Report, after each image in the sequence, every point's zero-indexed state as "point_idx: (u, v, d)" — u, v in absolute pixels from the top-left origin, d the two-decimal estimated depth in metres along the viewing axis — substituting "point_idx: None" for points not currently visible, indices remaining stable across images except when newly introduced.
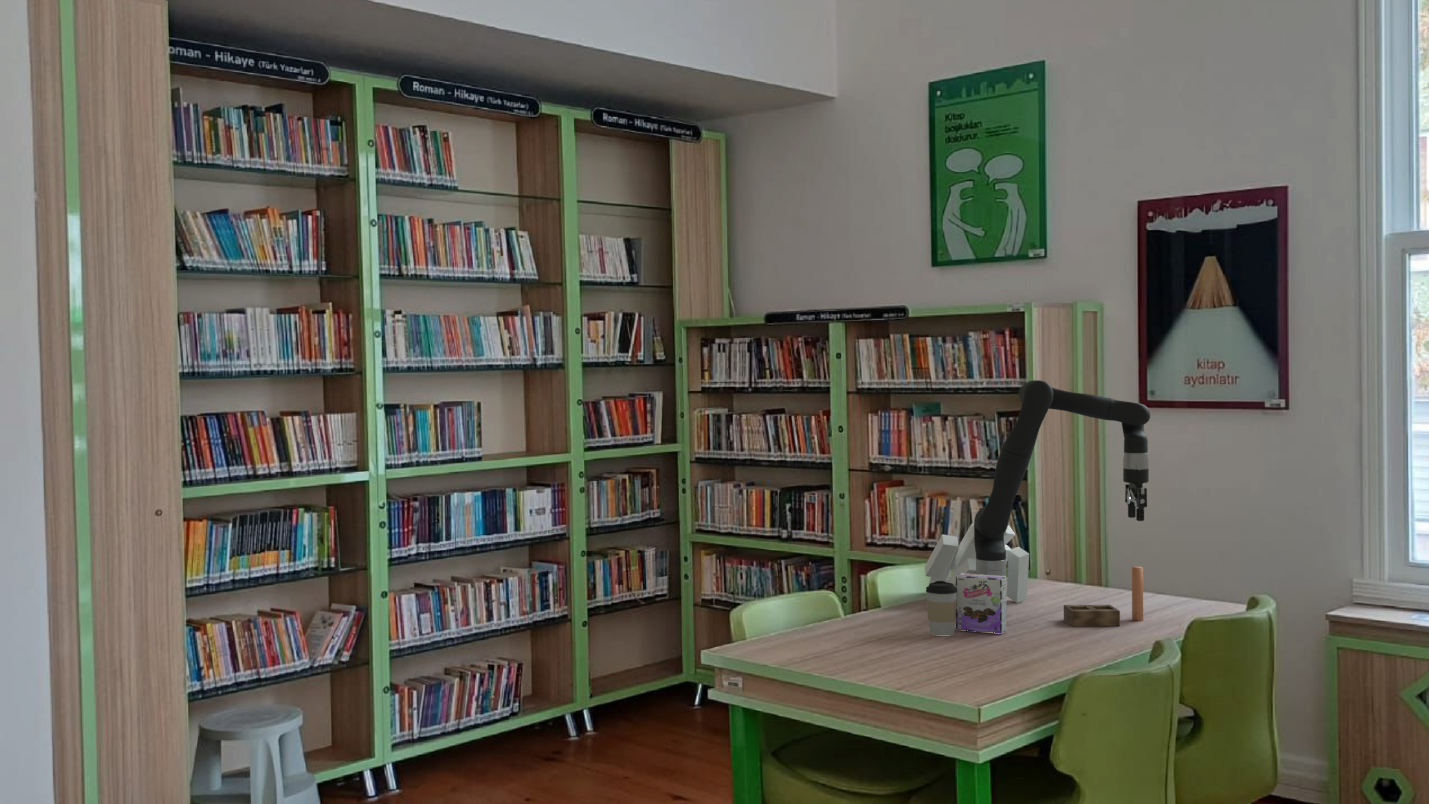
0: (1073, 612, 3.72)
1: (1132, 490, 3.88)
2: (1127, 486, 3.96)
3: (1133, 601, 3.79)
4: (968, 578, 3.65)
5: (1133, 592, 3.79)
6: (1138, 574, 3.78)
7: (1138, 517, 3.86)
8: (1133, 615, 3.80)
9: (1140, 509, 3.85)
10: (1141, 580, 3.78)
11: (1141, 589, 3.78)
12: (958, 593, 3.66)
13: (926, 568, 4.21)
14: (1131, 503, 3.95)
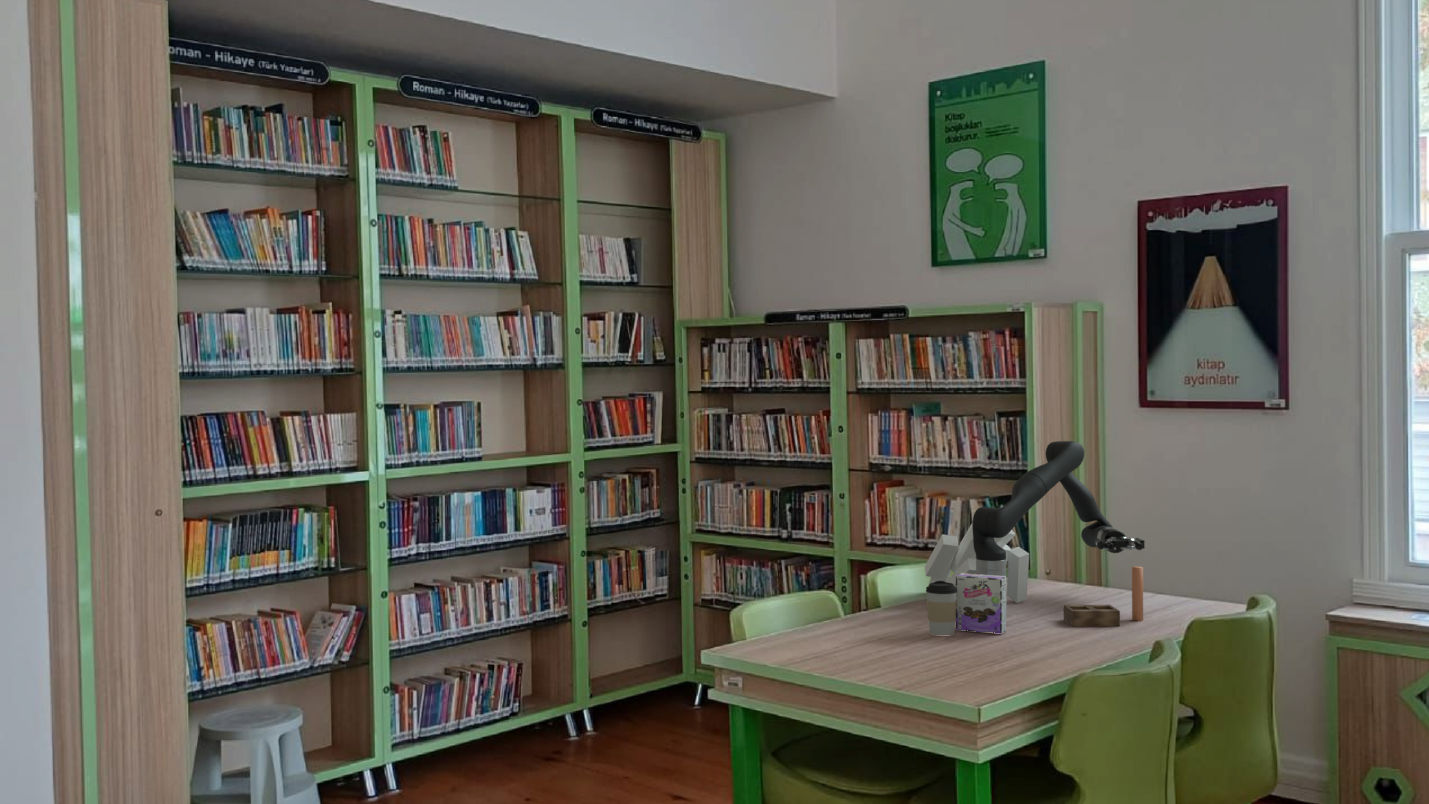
0: (1073, 612, 3.72)
1: None
2: None
3: (1133, 601, 3.79)
4: (968, 578, 3.65)
5: (1133, 592, 3.79)
6: (1138, 574, 3.78)
7: (1141, 544, 3.92)
8: (1133, 615, 3.80)
9: None
10: (1141, 580, 3.78)
11: (1141, 589, 3.78)
12: (958, 593, 3.66)
13: (926, 568, 4.21)
14: None
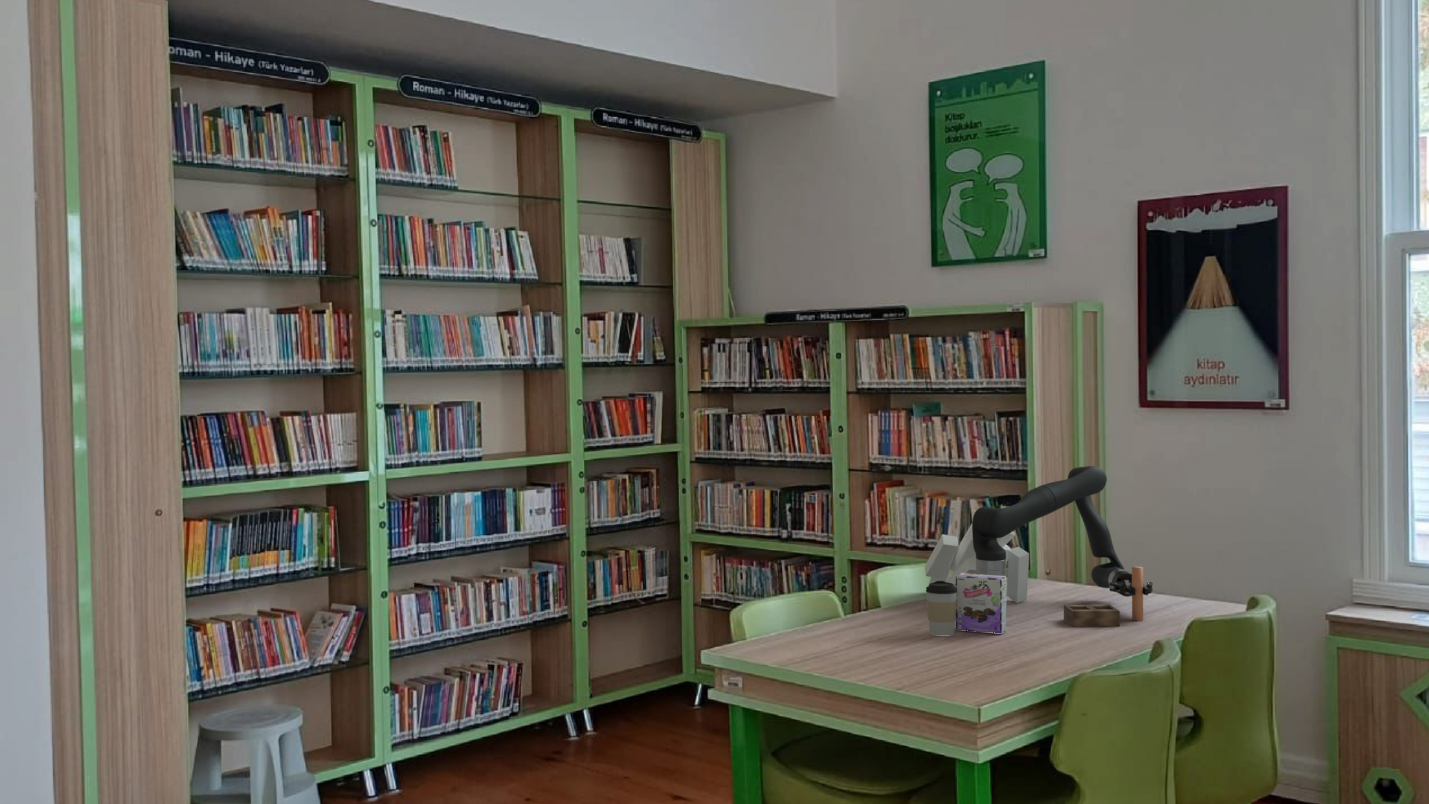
0: (1073, 612, 3.72)
1: None
2: None
3: (1133, 601, 3.79)
4: (968, 578, 3.65)
5: None
6: (1138, 574, 3.78)
7: (1147, 588, 3.78)
8: (1133, 615, 3.80)
9: None
10: (1141, 580, 3.78)
11: (1141, 589, 3.78)
12: (958, 593, 3.66)
13: (926, 568, 4.21)
14: None
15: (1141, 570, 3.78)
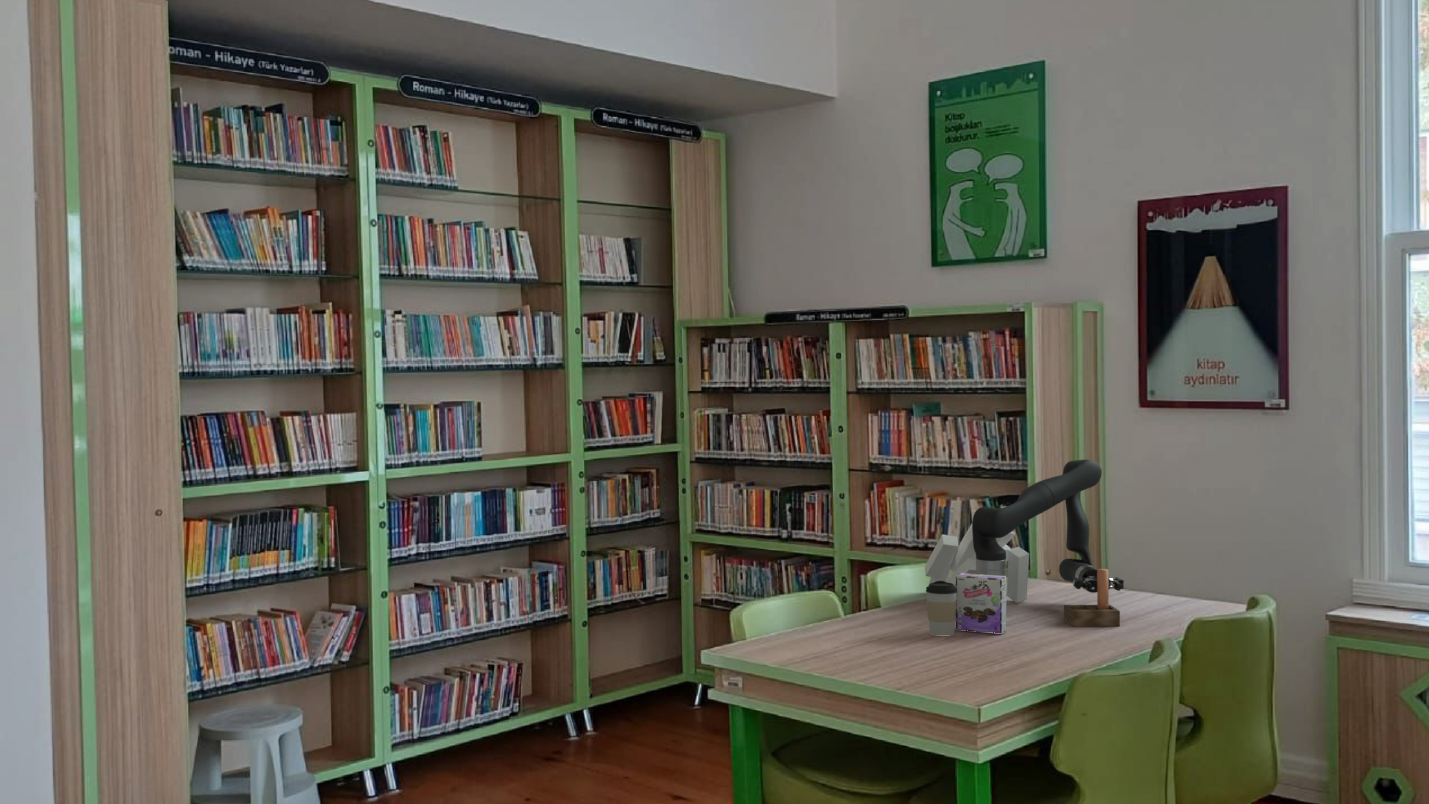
0: (1073, 612, 3.72)
1: None
2: None
3: (1098, 604, 3.76)
4: (968, 578, 3.65)
5: (1098, 595, 3.76)
6: (1104, 577, 3.75)
7: (1120, 584, 3.75)
8: None
9: None
10: (1106, 582, 3.75)
11: (1106, 592, 3.75)
12: (958, 593, 3.66)
13: (925, 568, 4.21)
14: None
15: (1106, 572, 3.75)
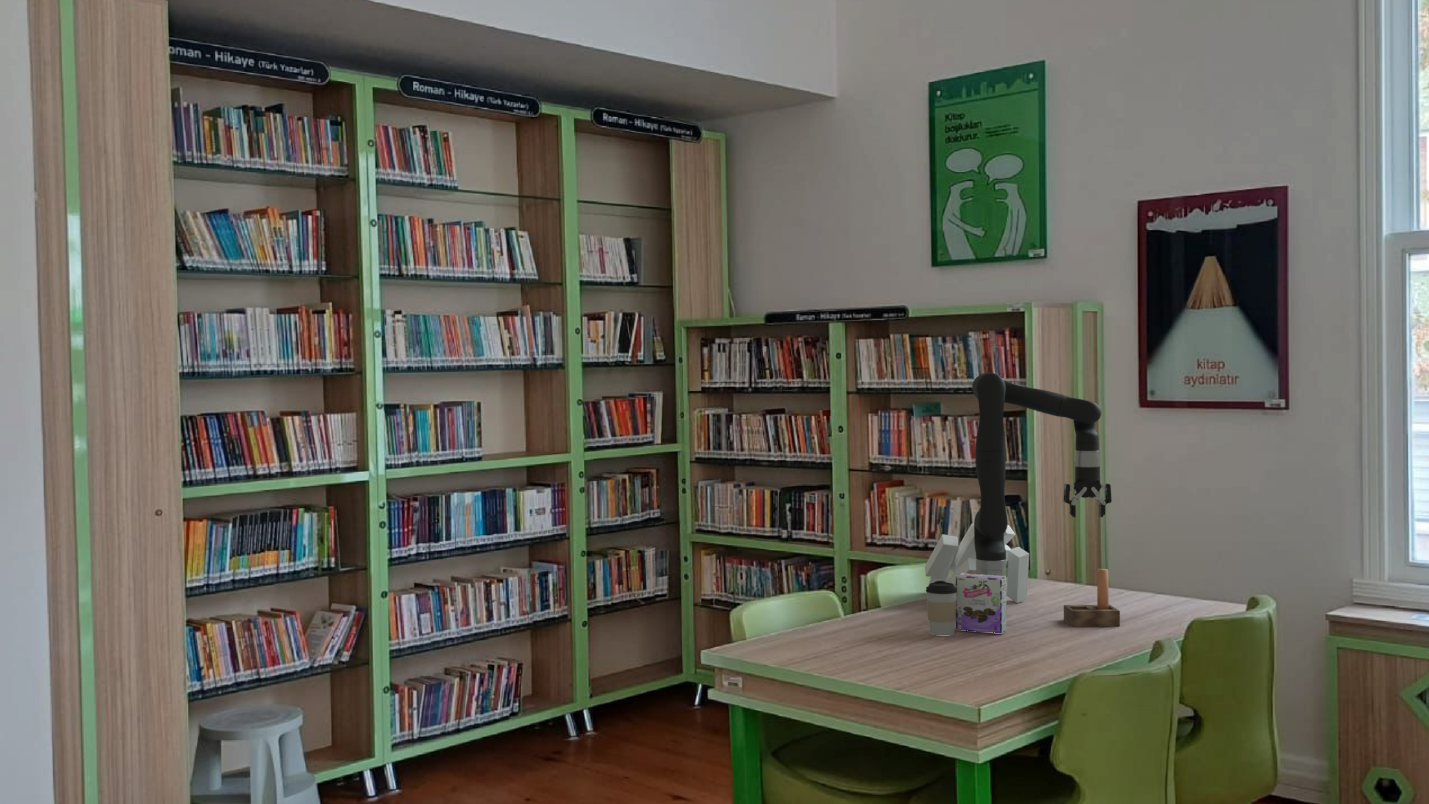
0: (1073, 612, 3.72)
1: (1094, 488, 3.89)
2: None
3: (1098, 604, 3.76)
4: (968, 578, 3.65)
5: (1098, 595, 3.76)
6: (1104, 577, 3.75)
7: (1103, 513, 3.90)
8: None
9: None
10: (1106, 582, 3.75)
11: (1106, 592, 3.75)
12: (958, 593, 3.66)
13: (926, 568, 4.21)
14: None
15: (1106, 572, 3.75)
